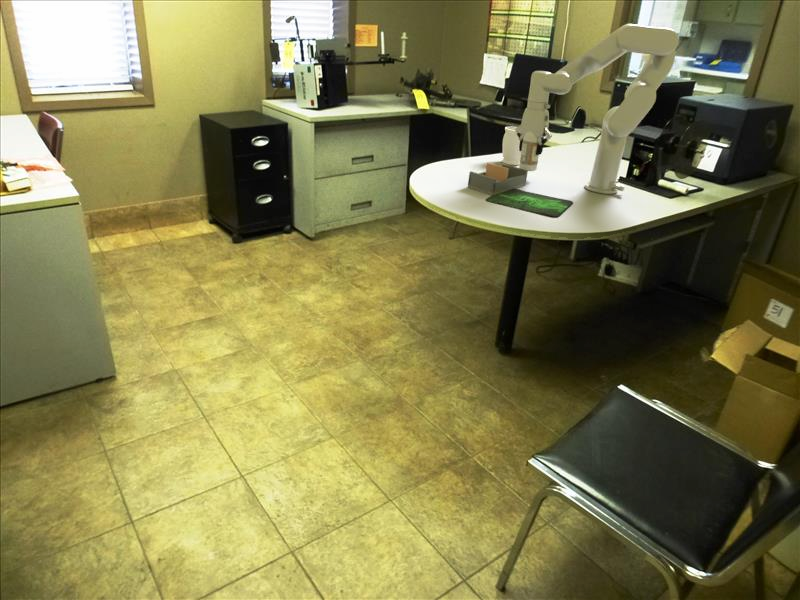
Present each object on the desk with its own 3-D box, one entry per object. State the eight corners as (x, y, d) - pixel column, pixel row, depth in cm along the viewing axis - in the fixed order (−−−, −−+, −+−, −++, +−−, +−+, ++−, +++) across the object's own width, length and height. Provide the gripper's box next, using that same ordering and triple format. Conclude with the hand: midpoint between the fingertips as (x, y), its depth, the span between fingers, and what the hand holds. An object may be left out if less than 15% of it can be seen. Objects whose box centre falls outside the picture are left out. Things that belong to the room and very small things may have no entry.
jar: (516, 159, 260) (522, 126, 253) (527, 165, 251) (533, 131, 244) (495, 160, 257) (500, 125, 249) (506, 166, 248) (511, 131, 241)
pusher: (505, 186, 216) (508, 168, 213) (497, 188, 213) (500, 170, 209) (486, 180, 221) (488, 162, 218) (478, 182, 218) (480, 164, 215)
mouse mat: (482, 201, 203) (482, 198, 203) (504, 187, 220) (505, 185, 220) (557, 219, 192) (557, 216, 192) (574, 203, 209) (574, 201, 209)
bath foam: (527, 172, 225) (535, 120, 216) (515, 168, 230) (522, 116, 221) (540, 170, 229) (548, 119, 219) (527, 166, 234) (535, 115, 224)
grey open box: (525, 185, 224) (527, 170, 221) (492, 195, 209) (494, 179, 206) (500, 178, 231) (503, 163, 228) (467, 187, 216) (469, 171, 213)
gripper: (562, 108, 215) (554, 155, 223) (523, 101, 226) (516, 147, 234) (552, 110, 210) (544, 158, 219) (512, 103, 221) (506, 149, 229)
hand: (530, 152), depth 226 cm, fingers closed on bath foam, 7 cm apart
